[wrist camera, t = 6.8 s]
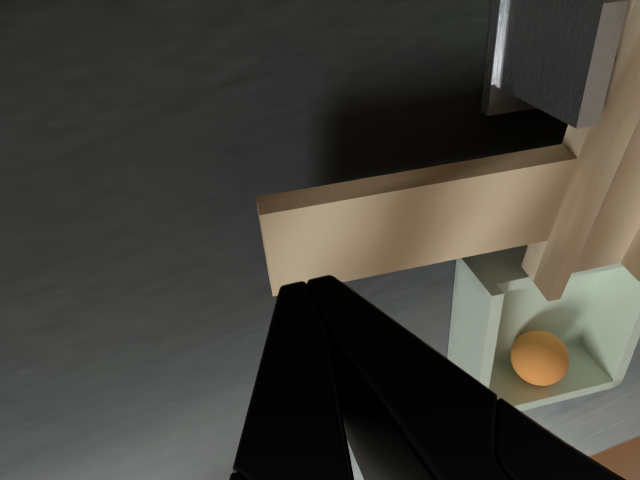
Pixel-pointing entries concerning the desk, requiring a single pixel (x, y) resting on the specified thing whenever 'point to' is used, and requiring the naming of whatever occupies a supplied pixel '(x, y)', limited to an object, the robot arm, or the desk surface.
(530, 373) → the ball
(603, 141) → the lever
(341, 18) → the desk surface
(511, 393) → the tray
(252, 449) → the robot arm
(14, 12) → the desk surface
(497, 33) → the silver support block
